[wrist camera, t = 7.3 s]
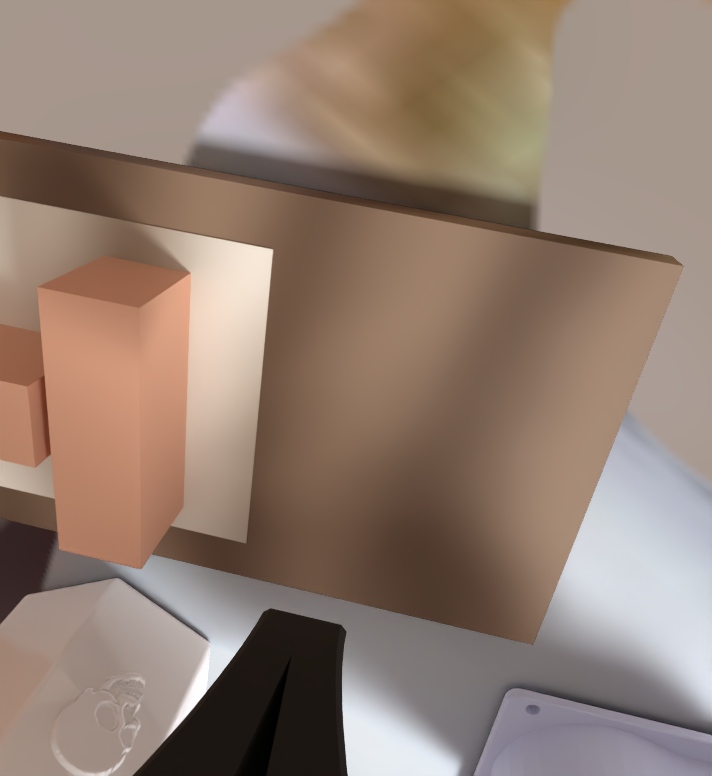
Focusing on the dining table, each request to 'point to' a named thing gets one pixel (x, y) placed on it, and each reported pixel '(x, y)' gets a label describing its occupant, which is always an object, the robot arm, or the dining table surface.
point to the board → (355, 377)
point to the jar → (93, 680)
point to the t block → (103, 403)
